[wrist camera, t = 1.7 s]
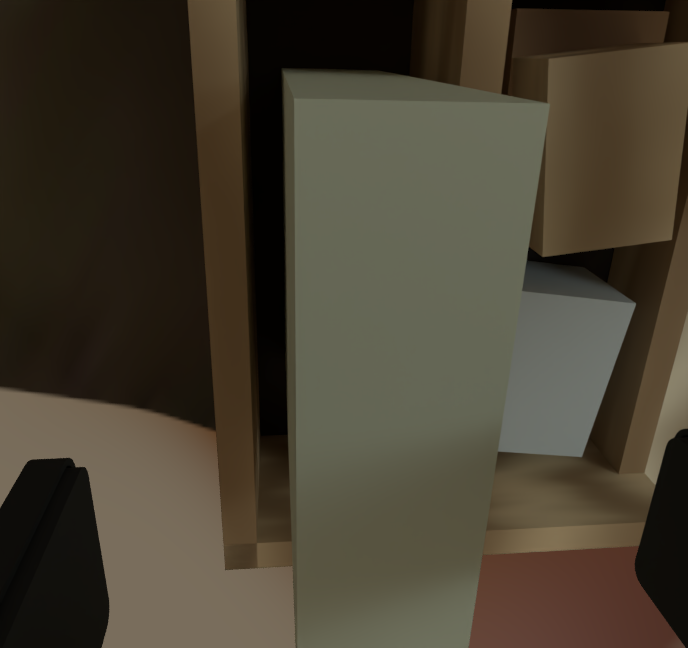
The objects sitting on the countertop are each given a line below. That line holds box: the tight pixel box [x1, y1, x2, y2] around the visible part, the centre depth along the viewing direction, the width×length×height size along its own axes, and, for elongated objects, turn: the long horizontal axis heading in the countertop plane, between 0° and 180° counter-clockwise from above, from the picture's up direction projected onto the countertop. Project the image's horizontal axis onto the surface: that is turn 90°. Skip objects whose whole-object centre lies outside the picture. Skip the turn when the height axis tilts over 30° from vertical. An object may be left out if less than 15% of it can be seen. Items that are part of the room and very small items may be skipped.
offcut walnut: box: [501, 8, 669, 96], centre depth 24 cm, size 5×8×4 cm, turn 179°
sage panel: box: [281, 68, 550, 648], centre depth 18 cm, size 4×12×16 cm, turn 179°
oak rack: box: [188, 0, 688, 570], centre depth 23 cm, size 18×22×7 cm
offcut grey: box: [498, 261, 636, 457], centre depth 27 cm, size 5×7×4 cm
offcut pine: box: [512, 42, 688, 257], centre depth 21 cm, size 4×6×3 cm
